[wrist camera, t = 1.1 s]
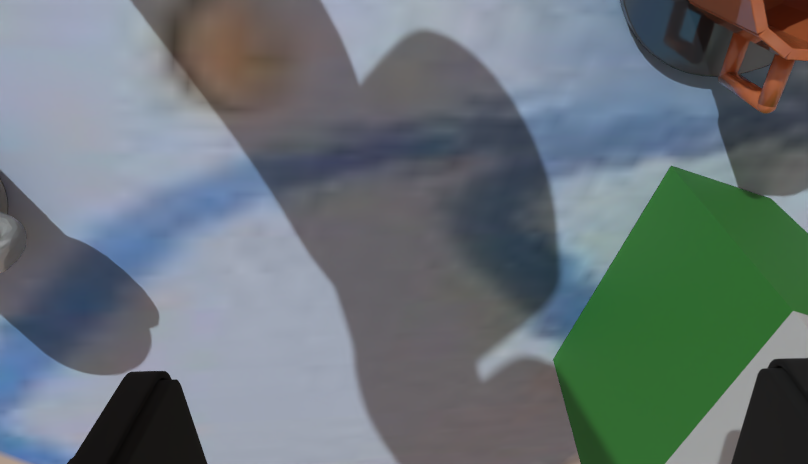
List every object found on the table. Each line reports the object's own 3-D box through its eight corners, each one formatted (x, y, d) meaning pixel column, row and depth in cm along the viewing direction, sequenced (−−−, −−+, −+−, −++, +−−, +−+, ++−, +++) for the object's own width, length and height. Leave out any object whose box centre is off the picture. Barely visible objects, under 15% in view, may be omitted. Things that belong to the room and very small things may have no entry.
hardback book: (637, 382, 49) (794, 757, 28) (553, 359, 48) (651, 730, 27) (770, 198, 40) (1139, 545, 19) (670, 165, 39) (948, 495, 18)
